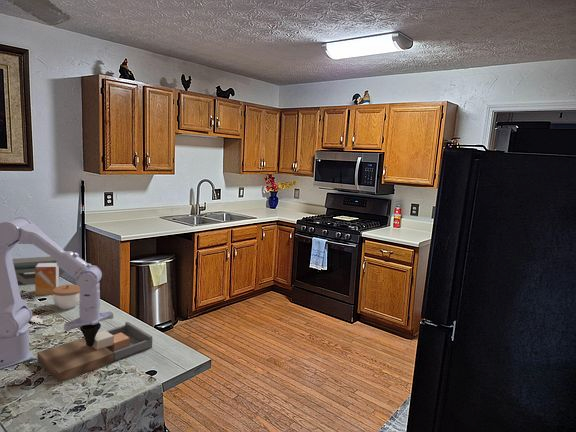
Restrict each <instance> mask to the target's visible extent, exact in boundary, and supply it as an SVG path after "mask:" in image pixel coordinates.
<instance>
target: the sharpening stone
mask: <svg viewBox="0 0 576 432" xmlns="http://www.w3.org/2000/svg"><path fill="white" fill-rule="evenodd" d="M12 260H13V264H14V269H15V273H16V278H17V282H20V283H21V284H23V285H24V286H26V285H35V267H36V266H37V265H38V263H57V261H56V259H54V258H53V257H51V256H39V257H38V256H37V257H36V256H35V257H23V258H12ZM65 273H66V272H65V271H64V270H62V269H61V268H60V267H59V278H60V277H61V276H62V275H64V274H65Z"/></svg>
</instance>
